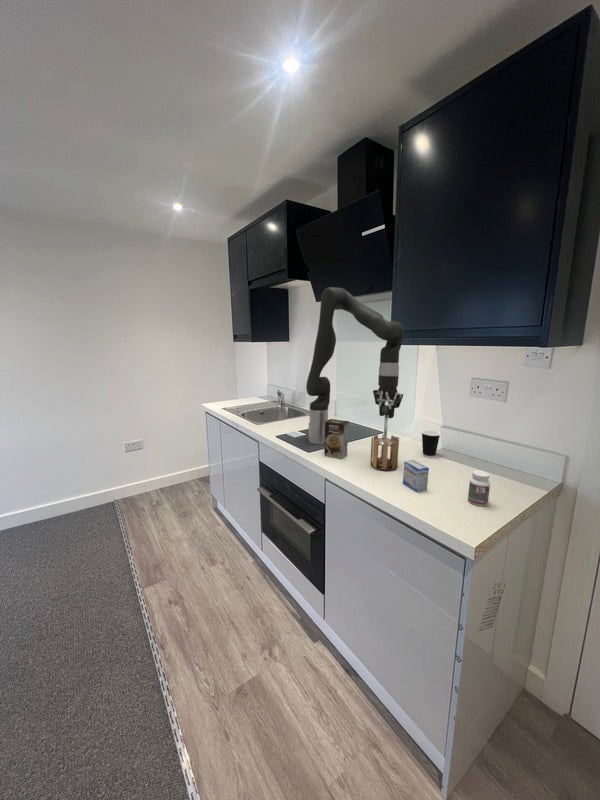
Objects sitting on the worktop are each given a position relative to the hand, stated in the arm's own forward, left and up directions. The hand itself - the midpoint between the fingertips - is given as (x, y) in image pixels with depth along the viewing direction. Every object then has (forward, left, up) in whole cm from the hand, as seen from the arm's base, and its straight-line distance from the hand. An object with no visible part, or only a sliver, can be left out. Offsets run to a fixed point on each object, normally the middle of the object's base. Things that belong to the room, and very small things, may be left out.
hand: (386, 416), depth 127 cm
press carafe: (0, +1, -21) cm, 21 cm away
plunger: (0, 0, -11) cm, 11 cm away
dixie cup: (+3, +26, -21) cm, 34 cm away
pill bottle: (+37, +3, -21) cm, 43 cm away
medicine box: (+19, -5, -21) cm, 29 cm away
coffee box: (-20, -9, -21) cm, 31 cm away
